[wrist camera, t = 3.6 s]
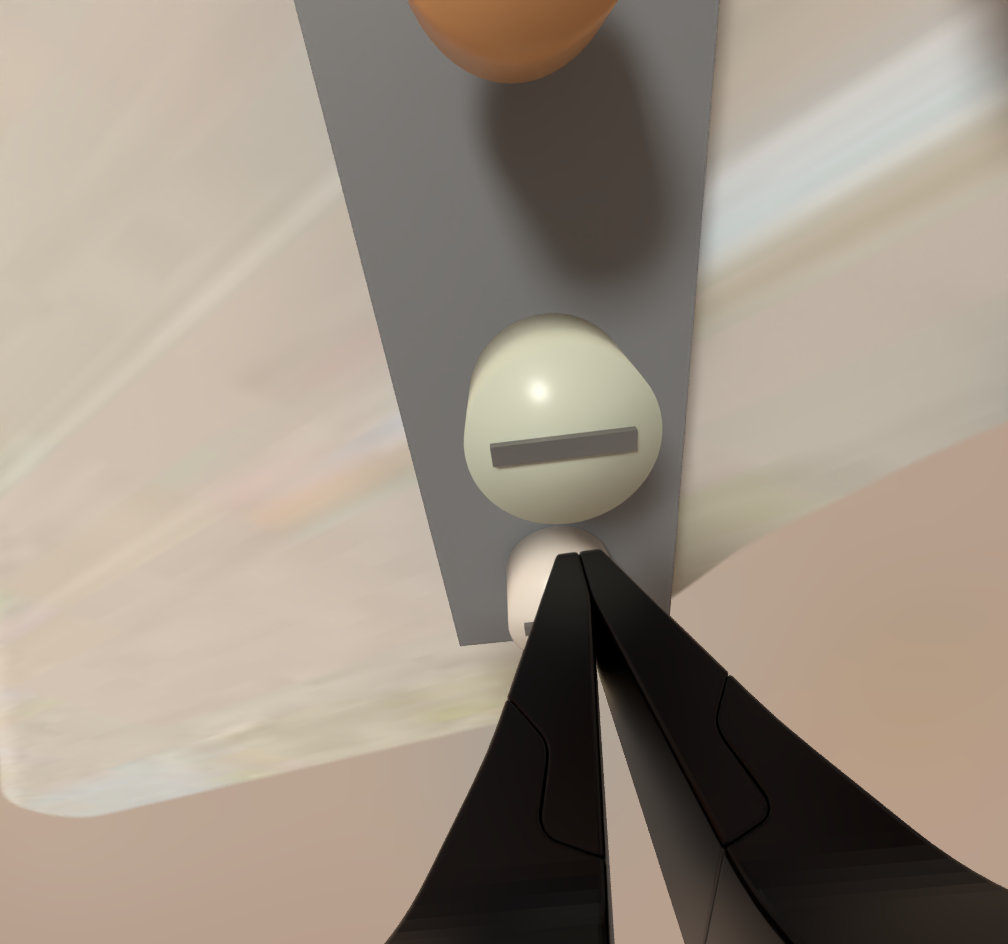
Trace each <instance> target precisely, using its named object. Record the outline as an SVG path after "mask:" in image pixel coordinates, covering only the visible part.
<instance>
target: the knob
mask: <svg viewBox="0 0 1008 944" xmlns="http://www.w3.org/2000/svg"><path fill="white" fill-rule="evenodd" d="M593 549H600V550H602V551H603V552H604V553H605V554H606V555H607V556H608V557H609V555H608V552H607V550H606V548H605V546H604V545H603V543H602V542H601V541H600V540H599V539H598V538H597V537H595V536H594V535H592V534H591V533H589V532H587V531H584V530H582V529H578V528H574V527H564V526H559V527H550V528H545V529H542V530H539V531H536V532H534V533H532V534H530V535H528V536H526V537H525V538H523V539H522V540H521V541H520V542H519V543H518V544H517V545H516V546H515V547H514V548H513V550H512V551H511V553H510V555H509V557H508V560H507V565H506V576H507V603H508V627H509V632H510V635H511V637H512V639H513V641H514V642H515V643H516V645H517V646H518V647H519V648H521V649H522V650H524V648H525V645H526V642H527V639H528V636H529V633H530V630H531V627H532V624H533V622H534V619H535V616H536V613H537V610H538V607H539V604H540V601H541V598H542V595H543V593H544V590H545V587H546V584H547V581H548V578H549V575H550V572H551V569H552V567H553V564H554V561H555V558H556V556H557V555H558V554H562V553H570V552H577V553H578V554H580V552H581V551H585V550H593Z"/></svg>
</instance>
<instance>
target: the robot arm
mask: <svg viewBox="0 0 1008 944" xmlns="http://www.w3.org/2000/svg"><path fill="white" fill-rule="evenodd" d="M596 664H597V667H596ZM597 669H598V672H599V676H600V679H601V683H602V685H603V689H604V692H605V695H606V698H607V701H608V705H609V708H610V711H611V714H612V717H613V720H614V723H615V727H616V730H617V733H618V736H619V739H620V742H621V745H622V748H623V752H624V755H625V758H626V761H627V764H628V767H629V770H630V774H631V777H632V780H633V783H634V786H635V789H636V792H637V795H638V799H639V802H640V805H641V808H642V811H643V814H644V817H645V821H646V824H647V827H648V830H649V833H650V836H651V839H652V843H653V846H654V849H655V852H656V855H657V858H658V861H659V865H660V868H661V871H662V874H663V877H664V880H665V883H666V886H667V890H668V893H669V896H670V899H671V902H672V905H673V908H674V911H675V914H676V918H677V920H678V924H679V927H680V930H681V933H682V937H683V939H684V943H685V944H1008V889H1006V888H1004V887H1002V886H1000V885H998V884H996V883H994V882H992V881H990V880H988V879H987V878H985V877H983V876H981V875H979V874H978V873H976V872H974V871H972V870H971V869H969V868H968V867H966V866H965V865H963V864H961V863H960V862H958V861H957V860H955V859H953V858H952V857H951V856H949V855H948V854H946V853H945V852H943V851H942V850H940V849H939V848H938V847H936V846H935V845H933V844H932V843H931V842H929V841H928V840H927V839H925V838H924V837H923V836H921V835H920V834H919V833H918V832H916V831H915V830H914V829H912V828H911V827H910V826H909V825H907V824H906V823H905V822H904V821H902V820H901V819H900V818H898V816H896V815H895V814H894V813H893V812H891V811H890V810H889V809H887V808H886V807H885V806H883V804H881V803H880V802H879V801H878V800H876V799H875V798H874V797H873V796H871V795H870V794H869V793H868V792H866V791H865V790H864V789H863V788H861V787H860V786H859V785H858V784H857V783H855V782H854V781H853V780H851V779H850V778H849V777H848V776H847V775H845V774H844V773H843V772H841V771H840V770H839V769H838V768H837V767H835V766H834V765H833V764H832V763H830V762H829V761H828V760H827V759H825V758H824V757H823V756H822V755H820V754H819V753H818V752H817V751H816V750H814V749H813V748H812V747H811V746H809V745H808V744H807V743H806V742H805V741H804V740H802V739H801V738H800V737H798V735H796V734H795V733H794V732H793V731H792V730H790V729H789V728H788V727H787V726H786V725H784V724H783V723H782V722H781V721H780V720H778V719H777V718H776V717H775V716H774V715H773V714H772V713H771V712H770V711H769V710H767V708H765V707H764V706H763V705H762V704H761V703H760V702H759V701H758V700H757V699H755V697H754V696H752V695H751V694H750V693H749V692H748V691H747V690H746V689H745V688H744V687H743V686H742V685H741V684H740V683H739V682H738V681H737V680H736V679H735V678H734V677H733V676H731V675H729V676H728V672H727V671H726V670H725V669H724V668H723V667H722V666H721V665H720V664H719V663H718V662H717V661H716V660H715V659H714V658H713V657H712V656H711V655H710V654H709V653H708V652H707V651H706V650H705V649H704V648H703V647H702V646H700V645H699V644H698V643H697V642H696V641H695V640H694V639H693V638H692V637H691V636H690V635H689V634H688V633H687V632H686V631H685V630H684V629H683V628H682V627H681V626H680V625H679V624H678V623H676V621H674V619H673V618H672V617H671V616H670V615H668V614H667V613H666V612H665V611H664V610H663V609H662V608H661V607H660V606H659V605H658V604H657V603H656V602H655V601H654V600H653V599H652V598H651V597H650V596H649V595H648V594H647V593H646V592H645V591H644V590H643V589H642V588H641V587H640V586H638V585H637V584H636V583H635V582H634V581H633V580H632V579H631V578H630V577H629V576H628V575H627V574H626V573H625V572H624V571H623V570H622V569H621V568H620V567H619V566H618V565H617V564H616V563H615V562H614V561H613V560H612V559H611V558H610V557H608V556H607V555H606V554H605V553H604V552H603V551H602V550H600V549H593V550H585V551H581V552H580V554H578V553H577V552H570V553H562V554H558V555H557V556H556V558H555V561H554V564H553V567H552V569H551V572H550V575H549V578H548V581H547V584H546V587H545V590H544V593H543V595H542V598H541V601H540V604H539V607H538V610H537V613H536V616H535V619H534V622H533V624H532V627H531V630H530V633H529V636H528V639H527V642H526V645H525V648H524V650H523V653H522V656H521V659H520V662H519V665H518V668H517V671H516V674H515V677H514V679H513V682H512V685H511V688H510V691H509V694H508V700H507V701H506V702H505V705H504V708H503V710H502V713H501V716H500V719H499V722H498V725H497V727H496V730H495V732H494V735H493V738H492V740H491V743H490V745H489V748H488V751H487V753H486V755H485V757H484V760H483V762H482V764H481V766H480V769H479V771H478V773H477V775H476V777H475V779H474V782H473V784H472V786H471V788H470V790H469V792H468V794H467V796H466V798H465V800H464V802H463V804H462V806H461V808H460V810H459V812H458V815H457V817H456V819H455V821H454V823H453V825H452V827H451V829H450V831H449V833H448V835H447V837H446V839H445V841H444V843H443V845H442V847H441V849H440V851H439V853H438V855H437V857H436V859H435V861H434V863H433V865H432V867H431V869H430V871H429V873H428V875H427V877H426V879H425V881H424V883H423V885H422V887H421V889H420V891H419V893H418V894H417V896H416V898H415V900H414V901H413V903H412V905H411V907H410V908H409V910H408V911H407V913H406V914H405V916H404V918H403V919H402V921H401V922H400V924H399V925H398V927H397V928H396V929H395V931H394V932H393V933H392V935H391V936H390V937H389V938H388V940H387V941H386V943H385V944H615V943H614V929H613V913H612V898H611V883H610V866H609V850H608V835H607V819H606V804H605V789H604V773H603V757H602V742H601V726H600V712H599V695H598V680H597Z"/></svg>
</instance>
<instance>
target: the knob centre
mask: <svg viewBox="0 0 1008 944" xmlns="http://www.w3.org/2000/svg"><path fill="white" fill-rule="evenodd" d="M661 440H662V417H661V412H660V408H659V405H658V402H657V399H656V397H655V395H654V393H653V391H652V389H651V387H650V386H649V385H648V383H647V382H646V381H645V379H644V378H643V377H642V375H641V374H640V373H639V372H638V371H637V369H636V368H635V367H634V366H633V364H632V363H631V362H630V361H629V359H628V358H627V357H626V356H625V355H624V353H623V352H622V351H621V350H620V348H619V347H618V346H617V345H616V343H615V342H614V341H613V340H612V339H611V338H610V337H609V336H608V335H607V334H606V333H605V332H604V331H603V330H602V329H600V328H599V327H598V326H596V325H595V324H593V323H591V322H589V321H587V320H585V319H582V318H580V317H577V316H573V315H568V314H560V313H547V314H539V315H534V316H530V317H527V318H524V319H521V320H519V321H517V322H515V323H513V324H511V325H509V326H508V327H506V328H505V329H503V330H502V331H500V332H499V333H498V334H497V335H496V336H495V337H494V338H492V340H491V341H490V342H489V343H488V344H487V345H486V347H485V348H484V349H483V351H482V352H481V354H480V356H479V358H478V360H477V362H476V364H475V366H474V369H473V372H472V375H471V381H470V388H469V396H468V405H467V413H466V422H465V430H464V452H465V458H466V462H467V466H468V469H469V471H470V474H471V476H472V478H473V480H474V481H475V483H476V485H477V486H478V488H479V489H480V490H481V491H482V493H483V494H484V495H485V496H486V497H487V498H488V499H489V500H490V501H491V502H492V503H494V504H495V505H496V506H498V507H499V508H501V509H502V510H504V511H506V512H507V513H509V514H511V515H513V516H516V517H518V518H521V519H524V520H528V521H531V522H536V523H543V524H569V523H575V522H581V521H584V520H588V519H592V518H594V517H597V516H599V515H602V514H604V513H606V512H608V511H610V510H612V509H613V508H615V507H617V506H618V505H620V504H621V503H623V502H624V501H625V500H626V499H628V498H629V497H630V496H631V495H632V494H633V493H634V492H635V491H636V490H637V489H638V488H639V487H640V486H641V485H642V483H643V482H644V481H645V479H646V478H647V477H648V475H649V473H650V472H651V470H652V468H653V466H654V464H655V462H656V459H657V457H658V454H659V450H660V446H661Z"/></svg>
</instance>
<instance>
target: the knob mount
mask: <svg viewBox="0 0 1008 944" xmlns="http://www.w3.org/2000/svg"><path fill="white" fill-rule="evenodd" d="M294 3H295V7H296V11H297V14H298V18H299V22H300V26H301V30H302V34H303V38H304V42H305V46H306V49H307V53H308V57H309V61H310V65H311V69H312V73H313V77H314V80H315V84H316V88H317V92H318V96H319V100H320V104H321V108H322V112H323V115H324V119H325V123H326V127H327V131H328V135H329V139H330V143H331V147H332V150H333V154H334V158H335V162H336V166H337V170H338V174H339V178H340V181H341V185H342V189H343V193H344V197H345V201H346V205H347V209H348V213H349V216H350V220H351V224H352V228H353V232H354V236H355V240H356V244H357V247H358V251H359V255H360V259H361V263H362V267H363V271H364V275H365V279H366V282H367V286H368V290H369V294H370V298H371V302H372V306H373V310H374V313H375V317H376V321H377V325H378V329H379V333H380V337H381V341H382V345H383V348H384V352H385V356H386V360H387V364H388V368H389V372H390V376H391V380H392V383H393V387H394V391H395V395H396V399H397V403H398V407H399V411H400V414H401V418H402V422H403V426H404V430H405V434H406V438H407V442H408V446H409V449H410V453H411V457H412V461H413V465H414V469H415V473H416V477H417V480H418V484H419V488H420V492H421V496H422V500H423V504H424V508H425V512H426V515H427V519H428V523H429V527H430V531H431V535H432V539H433V543H434V546H435V550H436V554H437V558H438V562H439V566H440V570H441V574H442V578H443V581H444V585H445V589H446V593H447V597H448V601H449V605H450V609H451V613H452V616H453V620H454V624H455V628H456V632H457V636H458V640H459V644H460V646H467V645H477V644H487V643H496V642H506V641H513V639H512V637H511V635H510V632H509V627H508V603H507V576H506V565H507V560H508V557H509V555H510V553H511V551H512V550H513V548H514V547H515V546H516V545H517V544H518V543H519V542H520V541H521V540H522V539H523V538H525V537H526V536H528V535H530V534H532V533H534V532H536V531H539V530H542V529H545V528H550V527H559V526H564V527H574V528H578V529H582V530H584V531H587V532H589V533H591V534H592V535H594V536H595V537H597V538H598V539H599V540H600V541H601V542H602V543H603V545H604V546H605V548H606V550H607V552H608V555H609V557H610V558H611V559H612V560H613V561H614V562H615V563H616V564H617V565H618V566H619V567H620V568H621V569H622V570H623V571H624V572H625V573H626V574H627V575H628V576H629V577H630V578H631V579H632V580H633V581H634V582H635V583H636V584H637V585H638V586H640V587H641V588H642V589H643V590H644V591H645V592H646V593H647V594H648V595H649V596H650V597H651V598H652V599H653V600H654V601H655V602H656V603H657V604H658V605H659V606H660V607H661V608H662V609H663V610H664V611H665V612H666V613H667V614H668V615H670V604H671V593H672V580H673V568H674V556H675V543H676V531H677V519H678V506H679V494H680V481H681V469H682V457H683V444H684V432H685V419H686V407H687V395H688V382H689V370H690V357H691V345H692V333H693V320H694V308H695V295H696V283H697V271H698V258H699V246H700V233H701V221H702V209H703V196H704V184H705V171H706V159H707V147H708V134H709V122H710V109H711V97H712V85H713V72H714V60H715V47H716V35H717V23H718V10H719V0H618V2H617V3H616V5H615V6H614V8H613V9H612V11H611V12H610V14H609V15H608V17H607V18H606V20H605V21H604V23H603V24H602V26H601V27H600V29H599V30H598V32H597V33H596V34H595V36H594V37H593V38H592V40H591V41H590V42H589V44H588V45H587V46H586V47H585V48H584V49H583V50H582V51H581V52H580V53H579V54H578V55H577V56H576V57H575V58H573V59H572V60H571V61H570V62H569V63H567V64H566V65H565V66H563V67H562V68H560V69H558V70H557V71H555V72H553V73H552V74H549V75H547V76H545V77H542V78H540V79H537V80H533V81H529V82H525V83H512V84H508V83H498V82H493V81H489V80H485V79H482V78H479V77H477V76H475V75H473V74H470V73H468V72H467V71H465V70H464V69H462V68H460V67H459V66H457V65H456V64H454V63H453V62H452V61H451V60H450V59H449V58H447V57H446V56H445V55H444V54H443V53H442V52H441V51H440V50H439V49H438V48H437V47H436V46H435V44H434V43H433V42H432V41H431V40H430V38H429V37H428V36H427V34H426V33H425V31H424V30H423V29H422V27H421V26H420V24H419V22H418V20H417V19H416V17H415V15H414V13H413V11H412V10H411V8H410V6H409V3H408V1H407V0H294ZM547 313H560V314H568V315H573V316H577V317H580V318H582V319H585V320H587V321H589V322H591V323H593V324H595V325H596V326H598V327H599V328H600V329H602V330H603V331H604V332H605V333H606V334H607V335H608V336H609V337H610V338H611V339H612V340H613V341H614V342H615V343H616V345H617V346H618V347H619V348H620V350H621V351H622V352H623V353H624V355H625V356H626V357H627V358H628V359H629V361H630V362H631V363H632V364H633V366H634V367H635V368H636V369H637V371H638V372H639V373H640V374H641V375H642V377H643V378H644V379H645V381H646V382H647V383H648V385H649V386H650V387H651V389H652V391H653V393H654V395H655V397H656V399H657V402H658V405H659V408H660V412H661V417H662V440H661V446H660V450H659V454H658V457H657V459H656V462H655V464H654V466H653V468H652V470H651V472H650V473H649V475H648V477H647V478H646V479H645V481H644V482H643V483H642V485H641V486H640V487H639V488H638V489H637V490H636V491H635V492H634V493H633V494H632V495H631V496H630V497H629V498H628V499H626V500H625V501H624V502H623V503H621V504H620V505H618V506H617V507H615V508H613V509H612V510H610V511H608V512H606V513H604V514H602V515H599V516H597V517H594V518H592V519H588V520H584V521H581V522H575V523H569V524H543V523H536V522H531V521H528V520H524V519H521V518H518V517H516V516H513V515H511V514H509V513H507V512H506V511H504V510H502V509H501V508H499V507H498V506H496V505H495V504H494V503H492V502H491V501H490V500H489V499H488V498H487V497H486V496H485V495H484V494H483V493H482V491H481V490H480V489H479V488H478V486H477V485H476V483H475V481H474V480H473V478H472V476H471V474H470V471H469V469H468V466H467V462H466V458H465V452H464V430H465V422H466V413H467V405H468V396H469V388H470V381H471V375H472V372H473V369H474V366H475V364H476V362H477V360H478V358H479V356H480V354H481V352H482V351H483V349H484V348H485V347H486V345H487V344H488V343H489V342H490V341H491V340H492V338H494V337H495V336H496V335H497V334H498V333H499V332H500V331H502V330H503V329H505V328H506V327H508V326H509V325H511V324H513V323H515V322H517V321H519V320H521V319H524V318H527V317H530V316H534V315H539V314H547Z"/></svg>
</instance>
